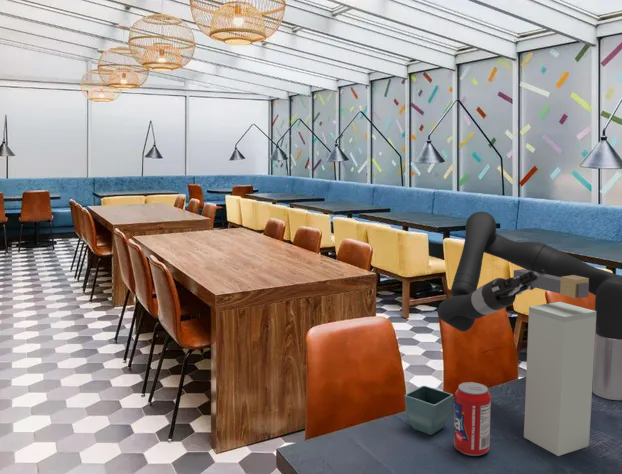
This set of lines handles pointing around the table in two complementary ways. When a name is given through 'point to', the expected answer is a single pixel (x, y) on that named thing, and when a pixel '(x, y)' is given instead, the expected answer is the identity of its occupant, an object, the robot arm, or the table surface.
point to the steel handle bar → (559, 283)
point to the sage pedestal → (559, 376)
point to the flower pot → (428, 409)
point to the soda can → (472, 419)
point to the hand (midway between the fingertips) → (538, 274)
